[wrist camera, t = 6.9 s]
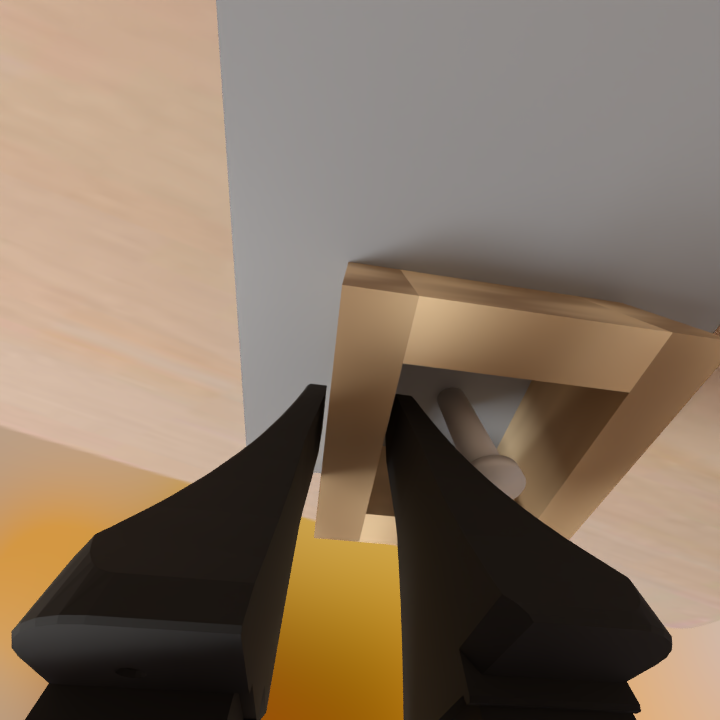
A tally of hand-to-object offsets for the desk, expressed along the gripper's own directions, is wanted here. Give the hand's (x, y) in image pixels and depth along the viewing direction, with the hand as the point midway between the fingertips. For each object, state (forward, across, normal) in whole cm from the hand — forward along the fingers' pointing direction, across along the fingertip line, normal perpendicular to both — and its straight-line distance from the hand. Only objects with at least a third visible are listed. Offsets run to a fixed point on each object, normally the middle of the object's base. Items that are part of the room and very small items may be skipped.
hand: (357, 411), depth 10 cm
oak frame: (+2, -4, 0) cm, 4 cm away
